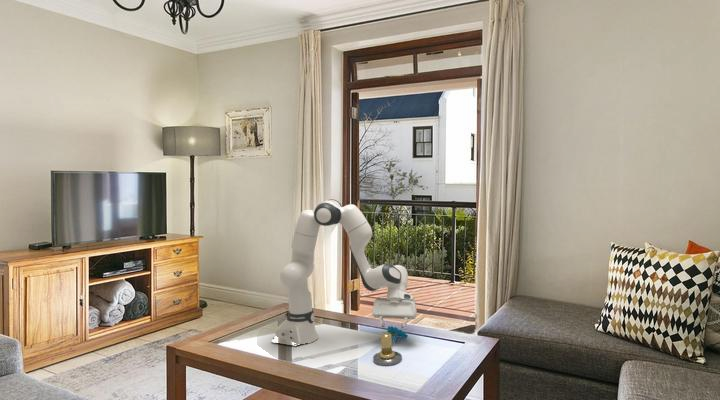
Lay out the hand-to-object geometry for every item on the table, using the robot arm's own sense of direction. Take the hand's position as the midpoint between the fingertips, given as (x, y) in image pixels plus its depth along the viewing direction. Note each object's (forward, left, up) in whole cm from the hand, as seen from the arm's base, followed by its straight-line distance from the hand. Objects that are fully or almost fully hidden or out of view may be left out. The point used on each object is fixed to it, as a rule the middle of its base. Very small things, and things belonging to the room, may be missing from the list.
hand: (392, 326), depth 199 cm
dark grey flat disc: (0, -12, -9) cm, 16 cm away
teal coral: (0, +9, -10) cm, 13 cm away
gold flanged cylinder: (0, -12, -8) cm, 15 cm away
